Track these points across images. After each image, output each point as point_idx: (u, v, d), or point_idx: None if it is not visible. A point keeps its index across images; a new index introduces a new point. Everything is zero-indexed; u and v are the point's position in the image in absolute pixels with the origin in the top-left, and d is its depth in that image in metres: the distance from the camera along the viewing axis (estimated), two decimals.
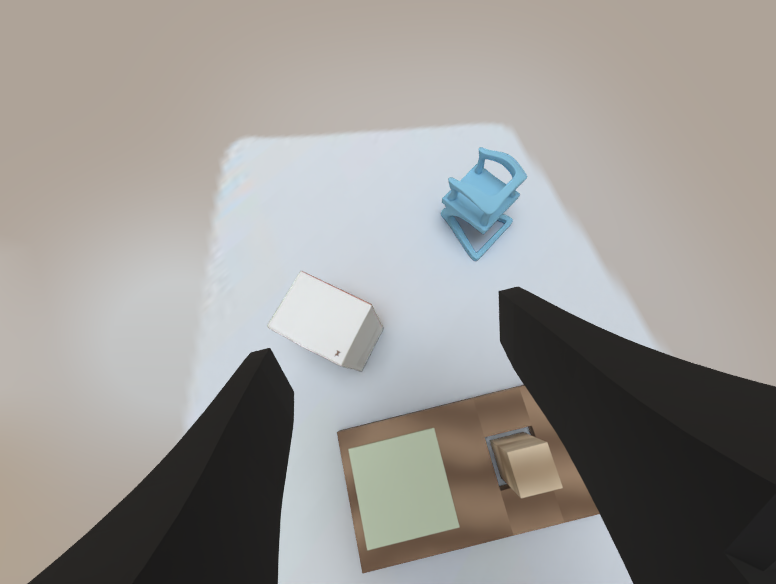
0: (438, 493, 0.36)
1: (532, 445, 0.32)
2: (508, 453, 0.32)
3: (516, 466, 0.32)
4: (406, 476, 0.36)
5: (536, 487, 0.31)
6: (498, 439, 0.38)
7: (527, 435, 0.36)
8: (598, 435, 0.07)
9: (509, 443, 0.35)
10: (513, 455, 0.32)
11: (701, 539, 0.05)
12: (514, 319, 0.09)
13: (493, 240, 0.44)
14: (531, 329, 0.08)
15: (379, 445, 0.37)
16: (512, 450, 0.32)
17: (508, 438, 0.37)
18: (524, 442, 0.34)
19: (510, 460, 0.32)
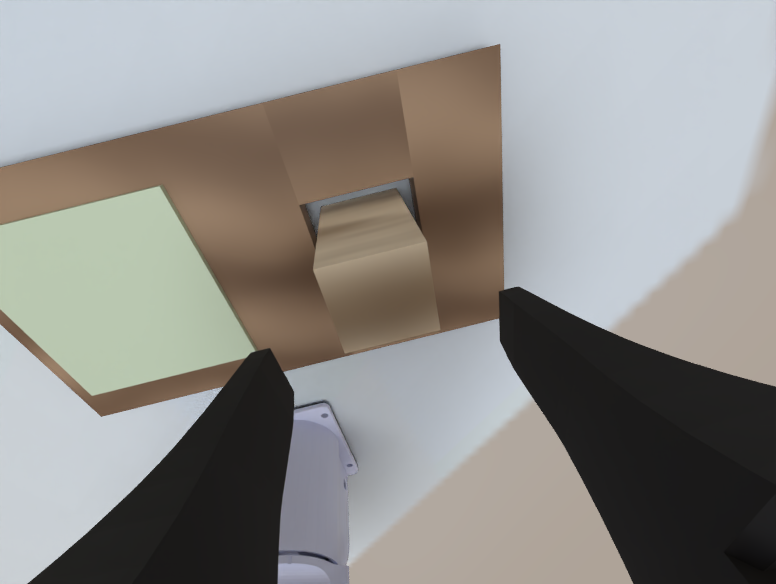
0: (206, 313, 0.18)
1: (386, 248, 0.12)
2: (316, 271, 0.11)
3: (337, 298, 0.12)
4: (122, 290, 0.16)
5: (381, 333, 0.13)
6: (337, 206, 0.17)
7: (397, 201, 0.15)
8: (598, 435, 0.07)
9: (345, 226, 0.14)
10: (330, 275, 0.12)
11: (701, 539, 0.05)
12: (514, 319, 0.09)
13: None
14: (531, 329, 0.08)
15: (18, 231, 0.14)
16: (330, 262, 0.12)
17: (356, 206, 0.16)
18: (376, 229, 0.13)
19: (322, 286, 0.12)
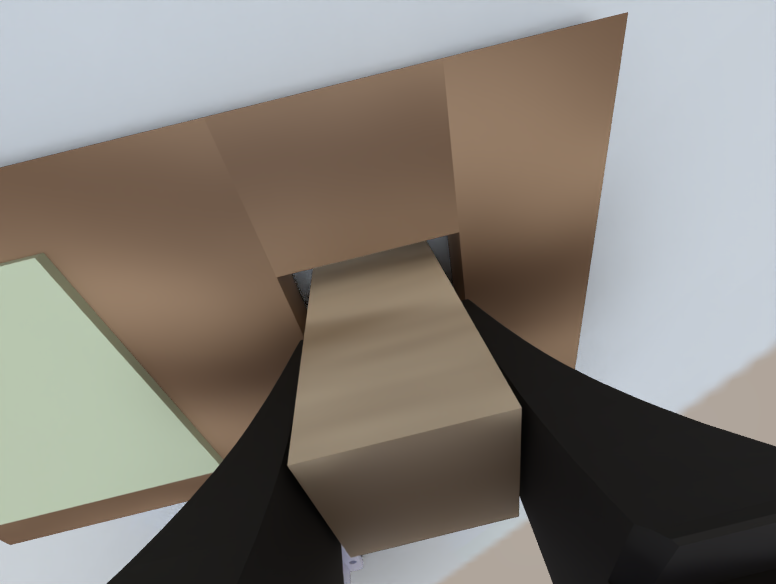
0: (141, 426, 0.12)
1: (436, 415, 0.06)
2: (295, 467, 0.06)
3: (337, 498, 0.06)
4: (3, 405, 0.10)
5: (416, 530, 0.07)
6: (337, 271, 0.11)
7: (434, 273, 0.10)
8: (523, 453, 0.07)
9: (351, 327, 0.08)
10: (324, 471, 0.06)
11: (594, 565, 0.05)
12: None
13: None
14: None
15: None
16: (324, 442, 0.06)
17: (367, 275, 0.10)
18: (408, 346, 0.07)
19: (307, 484, 0.06)
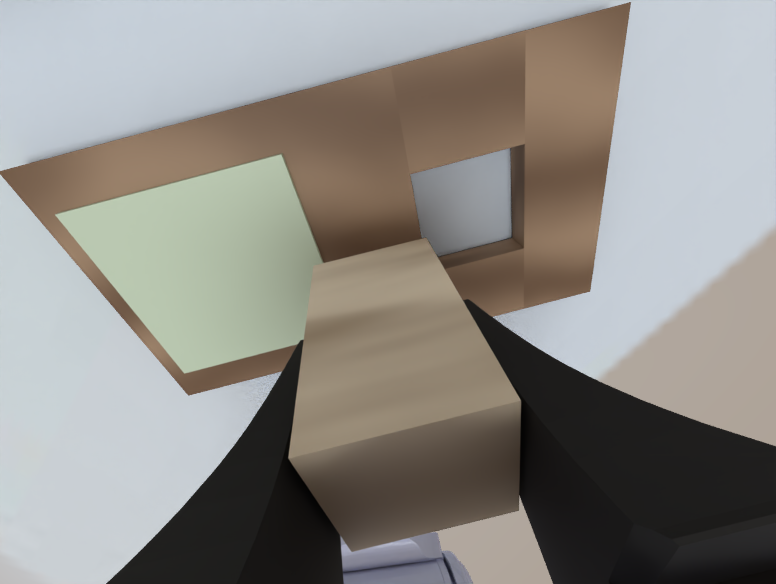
0: (305, 287, 0.18)
1: (436, 408, 0.06)
2: (296, 460, 0.06)
3: (338, 491, 0.06)
4: (229, 264, 0.16)
5: (417, 524, 0.07)
6: (337, 268, 0.11)
7: (434, 269, 0.10)
8: (524, 453, 0.07)
9: (351, 323, 0.08)
10: (324, 463, 0.06)
11: (594, 565, 0.05)
12: None
13: None
14: None
15: (140, 202, 0.14)
16: (324, 435, 0.06)
17: (367, 271, 0.10)
18: (408, 341, 0.07)
19: (308, 477, 0.06)
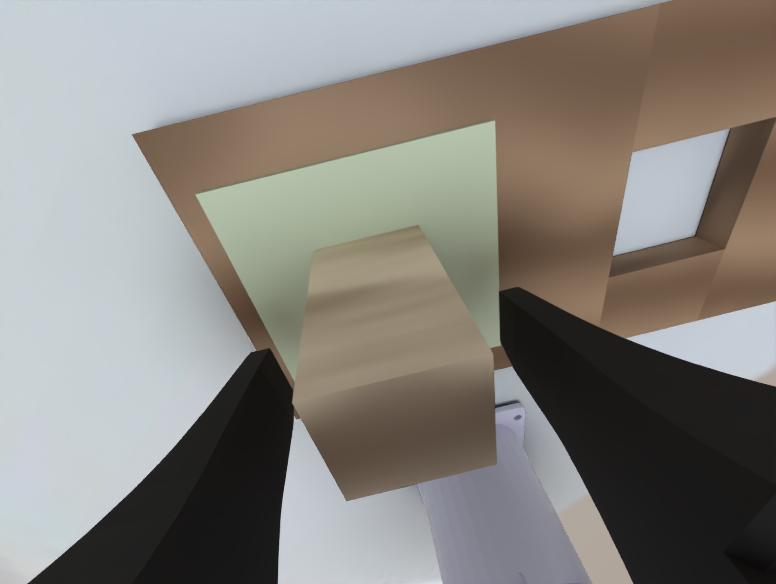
0: (469, 292, 0.14)
1: (420, 361, 0.07)
2: (299, 404, 0.06)
3: (335, 437, 0.07)
4: None
5: (405, 474, 0.08)
6: (336, 252, 0.12)
7: (424, 251, 0.10)
8: (598, 435, 0.07)
9: (348, 297, 0.09)
10: (323, 408, 0.07)
11: (701, 539, 0.05)
12: (514, 319, 0.09)
13: None
14: (531, 329, 0.08)
15: (305, 180, 0.11)
16: (323, 385, 0.07)
17: (363, 254, 0.11)
18: (398, 310, 0.08)
19: (309, 423, 0.07)
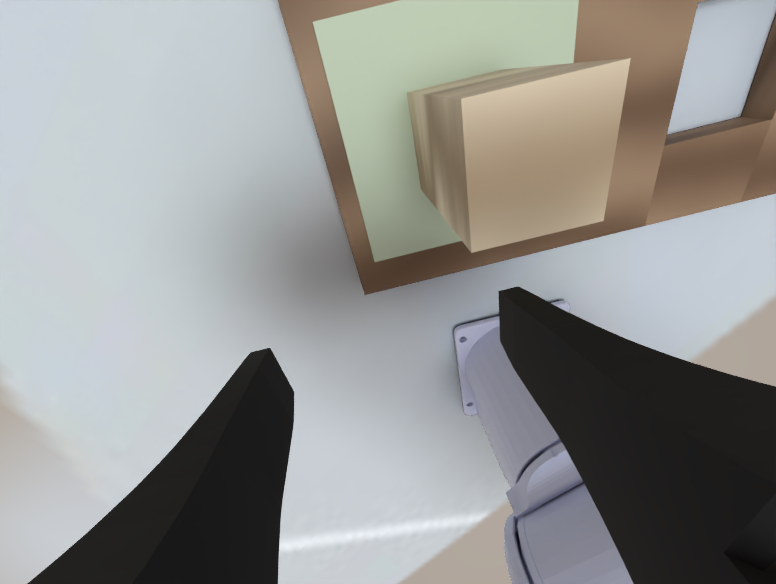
0: None
1: (565, 72, 0.08)
2: (465, 103, 0.08)
3: (483, 155, 0.08)
4: None
5: (527, 222, 0.09)
6: (431, 87, 0.13)
7: (521, 68, 0.12)
8: (598, 435, 0.07)
9: (466, 85, 0.10)
10: (482, 112, 0.08)
11: (701, 539, 0.05)
12: (514, 319, 0.09)
13: None
14: (531, 329, 0.08)
15: (409, 12, 0.12)
16: (482, 92, 0.08)
17: (461, 81, 0.12)
18: (522, 75, 0.09)
19: (466, 132, 0.08)
